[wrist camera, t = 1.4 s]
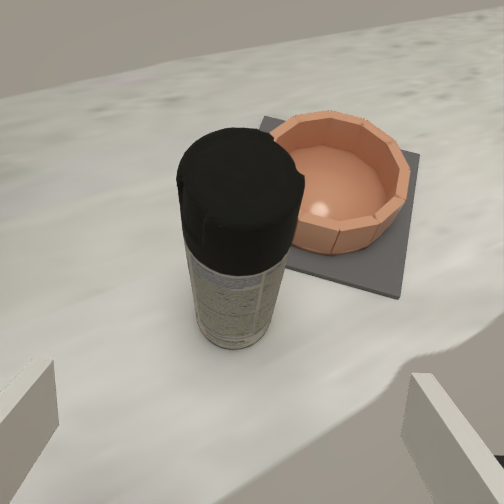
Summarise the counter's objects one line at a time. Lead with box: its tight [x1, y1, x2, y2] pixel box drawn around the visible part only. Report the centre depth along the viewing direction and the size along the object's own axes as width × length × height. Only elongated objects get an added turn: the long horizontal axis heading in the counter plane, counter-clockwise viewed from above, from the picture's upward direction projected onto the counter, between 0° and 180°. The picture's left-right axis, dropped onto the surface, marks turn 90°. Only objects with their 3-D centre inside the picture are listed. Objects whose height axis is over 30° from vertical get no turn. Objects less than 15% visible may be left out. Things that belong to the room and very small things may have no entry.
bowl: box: [270, 110, 411, 255], centre depth 43 cm, size 14×14×5 cm
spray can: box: [176, 128, 305, 349], centre depth 30 cm, size 7×7×20 cm
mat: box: [259, 116, 420, 299], centre depth 46 cm, size 18×18×1 cm
